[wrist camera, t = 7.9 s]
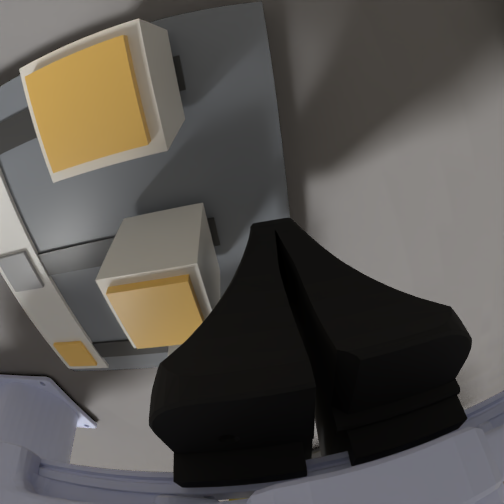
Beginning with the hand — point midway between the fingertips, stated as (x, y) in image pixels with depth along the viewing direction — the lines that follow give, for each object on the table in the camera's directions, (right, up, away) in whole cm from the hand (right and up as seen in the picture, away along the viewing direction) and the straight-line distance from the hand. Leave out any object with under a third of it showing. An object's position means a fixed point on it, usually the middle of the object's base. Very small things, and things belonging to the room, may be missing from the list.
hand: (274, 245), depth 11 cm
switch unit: (-6, +1, +2) cm, 7 cm away
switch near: (-4, +5, -3) cm, 7 cm away
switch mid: (-4, 0, +1) cm, 4 cm away
